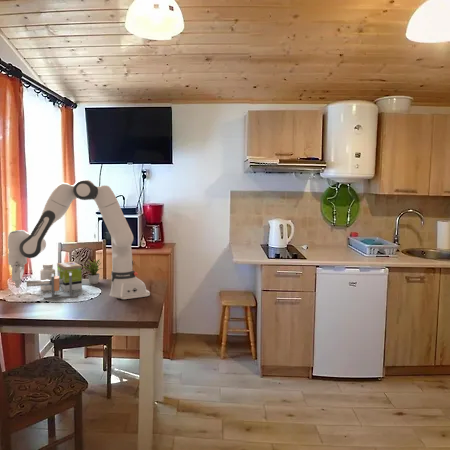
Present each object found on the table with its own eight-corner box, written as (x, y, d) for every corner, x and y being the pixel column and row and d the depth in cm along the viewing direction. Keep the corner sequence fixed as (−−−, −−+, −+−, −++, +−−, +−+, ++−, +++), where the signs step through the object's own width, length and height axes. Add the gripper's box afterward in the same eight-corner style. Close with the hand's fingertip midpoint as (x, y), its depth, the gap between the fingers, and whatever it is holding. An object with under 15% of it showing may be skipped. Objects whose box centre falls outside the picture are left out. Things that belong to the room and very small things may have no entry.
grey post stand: (77, 292, 230) (76, 272, 229) (77, 297, 221) (77, 275, 220) (44, 294, 224) (44, 273, 223) (43, 299, 215) (43, 277, 214)
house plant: (89, 280, 261) (88, 255, 260) (109, 281, 259) (109, 256, 257) (77, 285, 247) (77, 259, 246) (98, 286, 245) (98, 260, 243)
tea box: (57, 286, 244) (56, 262, 242) (74, 284, 250) (73, 261, 249) (65, 291, 232) (64, 266, 231) (82, 289, 238) (82, 264, 237)
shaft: (63, 283, 224) (62, 278, 223) (62, 284, 221) (62, 279, 221) (27, 286, 217) (27, 280, 217) (26, 287, 214) (26, 281, 214)
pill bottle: (56, 290, 236) (56, 264, 234) (42, 291, 231) (41, 266, 230) (53, 287, 242) (53, 262, 241) (39, 288, 238) (38, 263, 236)
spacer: (59, 287, 225) (59, 275, 225) (59, 290, 219) (59, 278, 218) (54, 288, 224) (54, 276, 224) (54, 291, 218) (53, 278, 217)
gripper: (22, 263, 205) (22, 290, 206) (26, 257, 224) (26, 281, 225) (8, 264, 202) (9, 291, 204) (13, 257, 221) (14, 282, 223)
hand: (18, 286), depth 214 cm, fingers open, 5 cm apart
